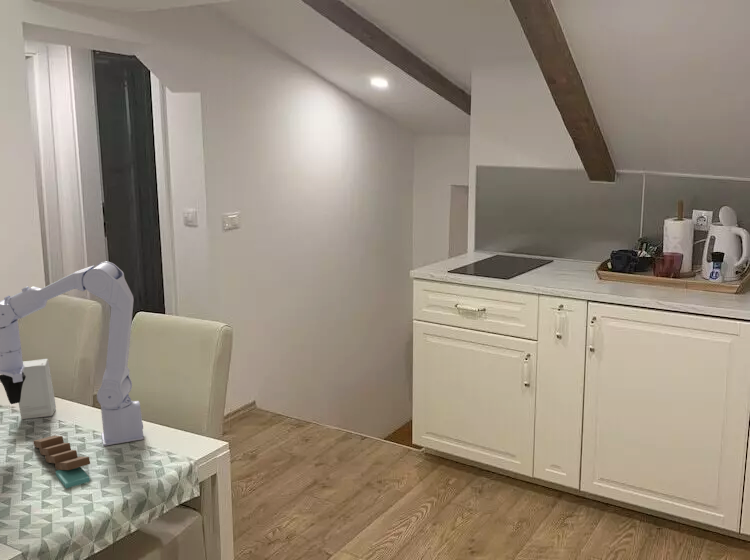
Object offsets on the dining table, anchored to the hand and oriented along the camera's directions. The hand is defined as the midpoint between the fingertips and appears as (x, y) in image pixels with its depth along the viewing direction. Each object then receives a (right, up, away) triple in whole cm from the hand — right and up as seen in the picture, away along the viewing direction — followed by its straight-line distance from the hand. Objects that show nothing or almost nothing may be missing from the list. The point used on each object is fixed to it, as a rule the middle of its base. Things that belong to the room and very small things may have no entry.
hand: (14, 402), depth 188 cm
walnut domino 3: (+13, -11, -8) cm, 19 cm away
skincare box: (-3, -7, +20) cm, 21 cm away
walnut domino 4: (+17, -12, -12) cm, 24 cm away
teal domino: (+19, -13, -15) cm, 27 cm away
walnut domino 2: (+10, -11, -4) cm, 15 cm away
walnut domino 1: (+7, -10, +1) cm, 12 cm away
